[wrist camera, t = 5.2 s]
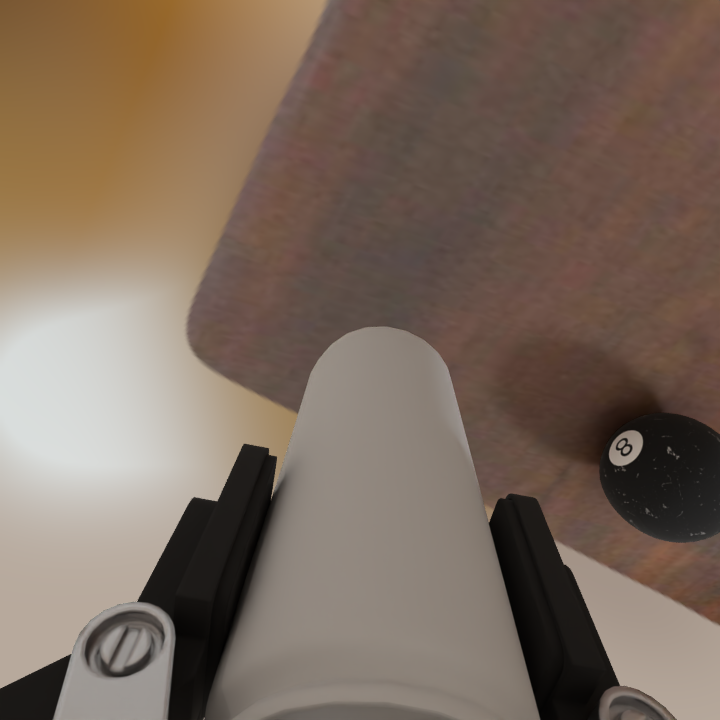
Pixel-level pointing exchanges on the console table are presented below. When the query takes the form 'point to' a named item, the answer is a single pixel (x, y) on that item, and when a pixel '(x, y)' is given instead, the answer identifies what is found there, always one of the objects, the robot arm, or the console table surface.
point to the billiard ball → (665, 476)
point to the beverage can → (375, 559)
